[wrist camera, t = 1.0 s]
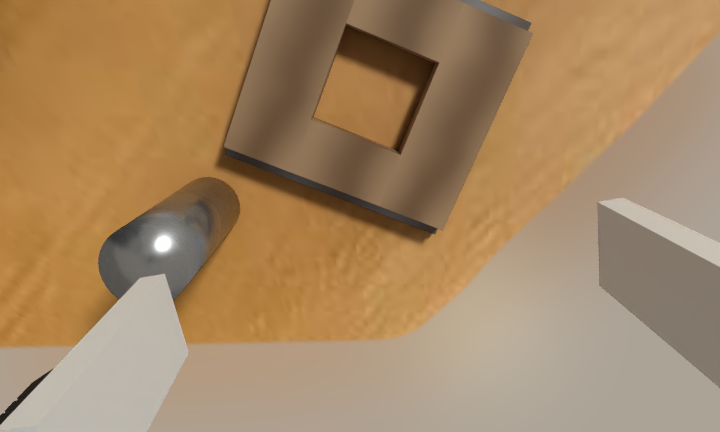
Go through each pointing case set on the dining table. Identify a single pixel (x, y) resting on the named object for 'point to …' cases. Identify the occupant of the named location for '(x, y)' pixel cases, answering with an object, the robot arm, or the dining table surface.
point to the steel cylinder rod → (170, 237)
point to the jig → (428, 124)
